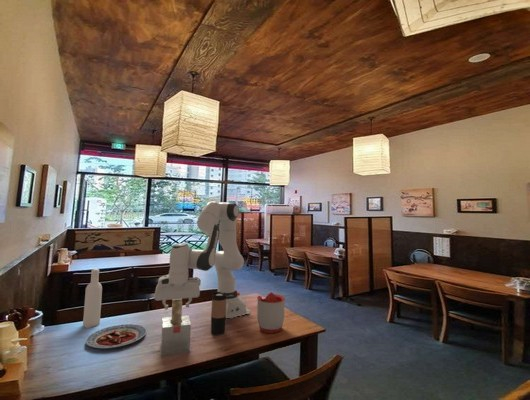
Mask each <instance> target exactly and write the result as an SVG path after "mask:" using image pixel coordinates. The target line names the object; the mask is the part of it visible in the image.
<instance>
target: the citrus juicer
mask: <svg viewBox="0 0 530 400" xmlns="http://www.w3.org/2000/svg"><path fill="white" fill-rule="evenodd" d="M256 300H257V304H256V305H257V308H256V309H257V311H256V312H257V314H256V315H257V323H258V327H259V330H260V331H261V332H263V333H266V332H268V333H267V334H275V333H274V332H276V333H278V331H279V332H280V331H281V330H282V328H283V325H284V321H285V306H286V305H285V303H286V302H285V301H286V298H285V297H284V296H283V295H281V294H275V293H273V292H272V291H270V292H269V293H268V294H267V295H266V297H265V298H263V297H262V296H261V295H258V296H257V298H256Z"/></svg>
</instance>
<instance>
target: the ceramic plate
mask: <svg viewBox="0 0 530 400" xmlns="http://www.w3.org/2000/svg"><path fill="white" fill-rule="evenodd" d="M146 334H147V329H146V327H145V326H142V325H139V324H130V323H128V324H117V325H112V326H108V327H105V328H101V329H98V330H97V331H95V332H92V334H90V335H89V336H88V337H87V338H86V341H85V342H86V345H87V346H89V347H91V348H94V349H113V348H119V347H122V346H127V345H130V344H134V343H135V342H137V341H139V340H141V339H142V338H144V336H145V335H146Z"/></svg>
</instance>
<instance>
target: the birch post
mask: <svg viewBox="0 0 530 400" xmlns="http://www.w3.org/2000/svg"><path fill="white" fill-rule="evenodd" d="M171 301H172V302H171V303H172V304H171V317H172V318H171V324H172V323H181V318H182V316H183V315H182V314H183V299H171Z"/></svg>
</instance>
